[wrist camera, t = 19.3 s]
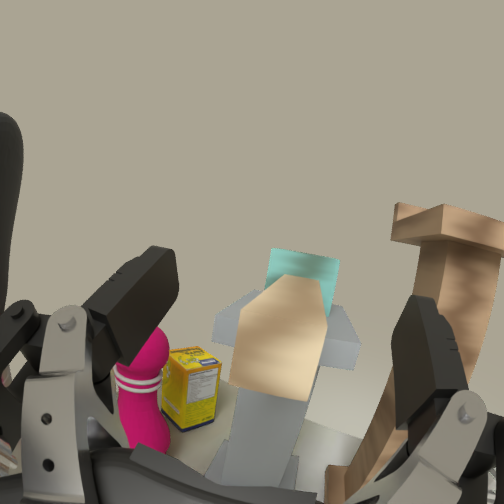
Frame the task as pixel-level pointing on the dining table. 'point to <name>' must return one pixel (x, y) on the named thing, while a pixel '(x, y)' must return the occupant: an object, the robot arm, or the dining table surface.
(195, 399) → the supplement box
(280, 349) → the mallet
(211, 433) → the dining table surface
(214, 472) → the slate pedestal
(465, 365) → the walnut stand
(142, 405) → the pepper mill
